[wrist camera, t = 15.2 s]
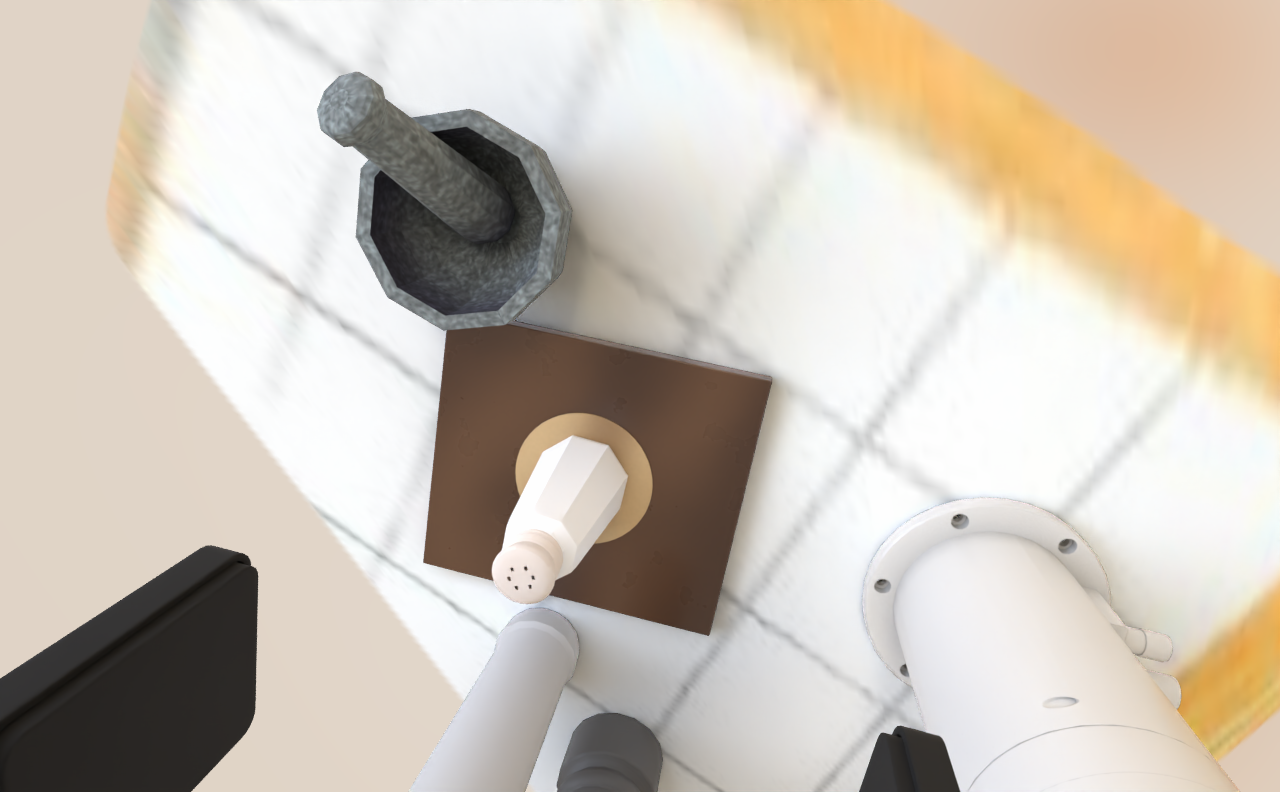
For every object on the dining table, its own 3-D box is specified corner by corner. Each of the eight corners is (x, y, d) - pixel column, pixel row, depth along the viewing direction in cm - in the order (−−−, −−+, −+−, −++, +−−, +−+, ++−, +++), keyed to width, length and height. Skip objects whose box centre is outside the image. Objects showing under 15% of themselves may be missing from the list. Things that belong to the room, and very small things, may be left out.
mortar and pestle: (623, 266, 39) (564, 302, 28) (475, 334, 42) (366, 392, 30) (529, 60, 37) (424, 7, 26) (380, 144, 39) (223, 129, 28)
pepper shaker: (546, 525, 43) (475, 636, 33) (527, 438, 42) (448, 525, 31) (636, 518, 42) (593, 630, 32) (620, 429, 41) (570, 515, 30)
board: (772, 376, 39) (772, 381, 38) (710, 626, 44) (709, 637, 43) (455, 307, 41) (447, 311, 40) (429, 555, 46) (422, 563, 45)
